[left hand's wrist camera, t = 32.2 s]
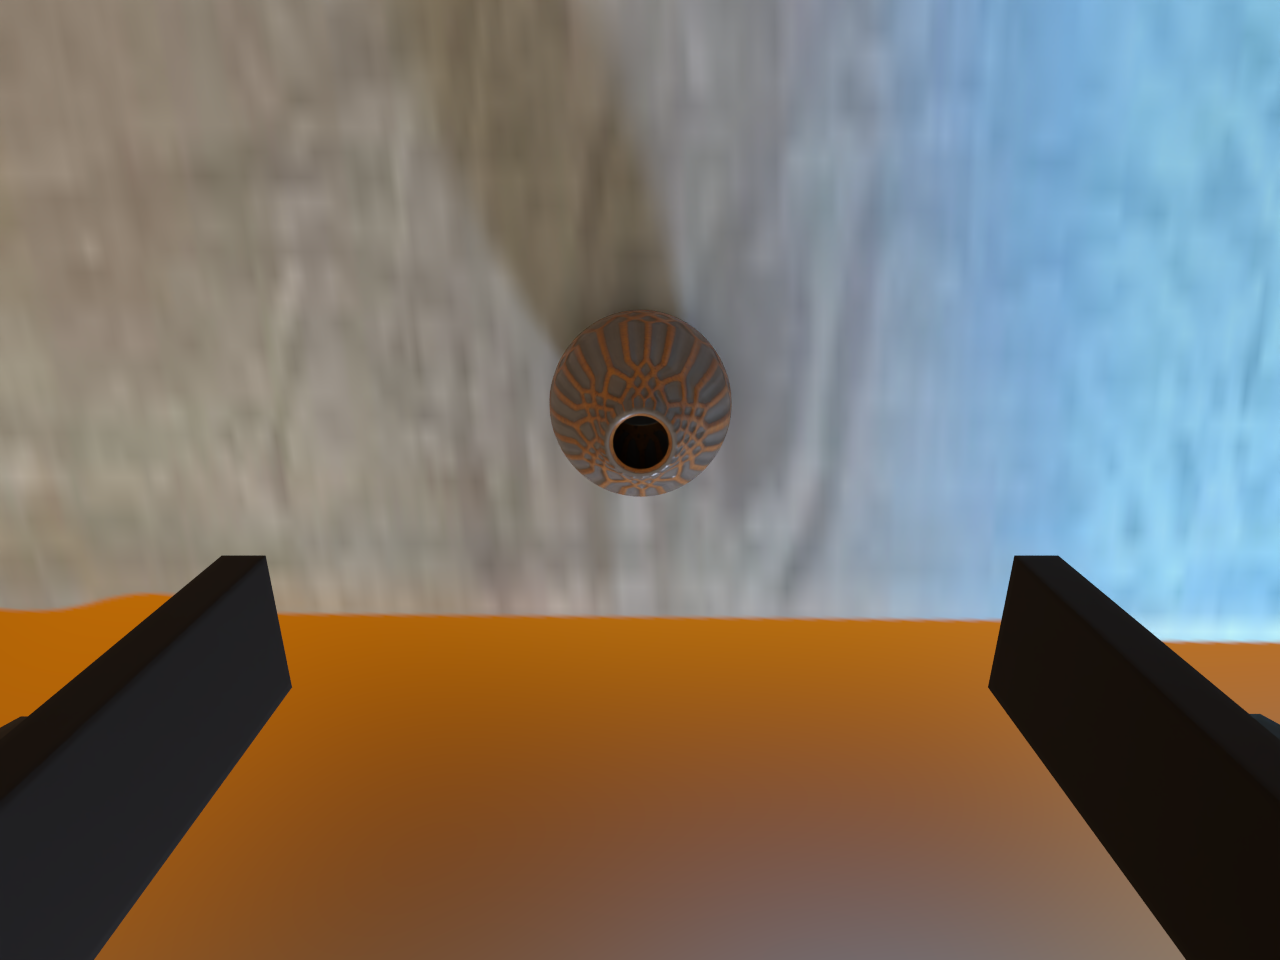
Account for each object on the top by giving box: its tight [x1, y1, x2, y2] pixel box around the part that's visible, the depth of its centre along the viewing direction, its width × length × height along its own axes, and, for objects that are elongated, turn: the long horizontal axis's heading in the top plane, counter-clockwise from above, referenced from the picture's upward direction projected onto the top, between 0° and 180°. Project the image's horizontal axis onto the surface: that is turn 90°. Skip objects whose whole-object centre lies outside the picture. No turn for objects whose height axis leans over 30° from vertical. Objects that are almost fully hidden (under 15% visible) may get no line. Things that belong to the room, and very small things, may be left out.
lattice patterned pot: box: [550, 310, 732, 496], centre depth 27 cm, size 7×7×9 cm
